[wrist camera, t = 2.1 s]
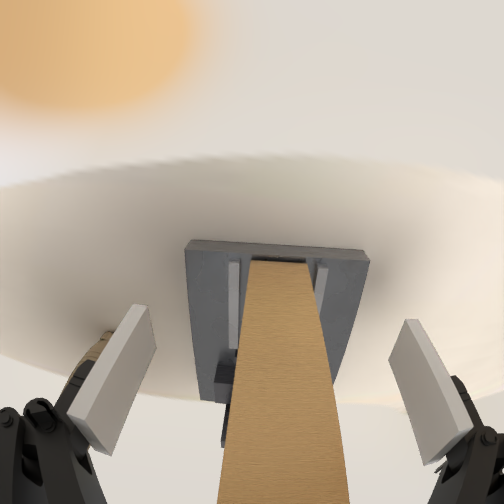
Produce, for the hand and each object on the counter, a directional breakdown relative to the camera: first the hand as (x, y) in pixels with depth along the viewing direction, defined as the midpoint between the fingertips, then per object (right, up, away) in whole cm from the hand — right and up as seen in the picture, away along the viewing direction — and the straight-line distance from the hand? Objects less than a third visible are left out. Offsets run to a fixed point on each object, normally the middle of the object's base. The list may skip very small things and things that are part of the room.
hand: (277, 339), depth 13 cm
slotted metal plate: (0, -2, +8) cm, 8 cm away
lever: (0, +2, +4) cm, 5 cm away
